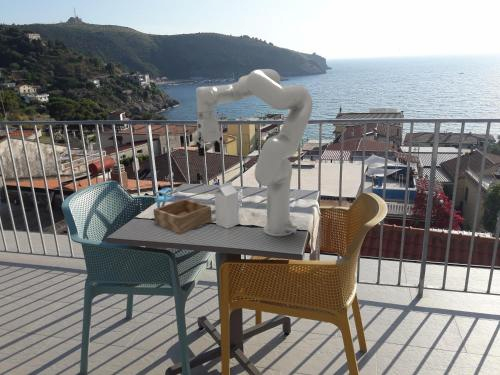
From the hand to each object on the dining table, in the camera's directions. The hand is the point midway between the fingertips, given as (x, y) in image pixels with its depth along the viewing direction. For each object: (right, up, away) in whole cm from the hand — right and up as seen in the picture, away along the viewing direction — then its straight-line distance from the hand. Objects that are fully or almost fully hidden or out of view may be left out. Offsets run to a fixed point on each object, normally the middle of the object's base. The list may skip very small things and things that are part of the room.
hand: (209, 154), depth 172 cm
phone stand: (-23, -27, +15) cm, 39 cm away
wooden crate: (-12, -31, +1) cm, 33 cm away
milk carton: (+8, -32, -3) cm, 33 cm away
